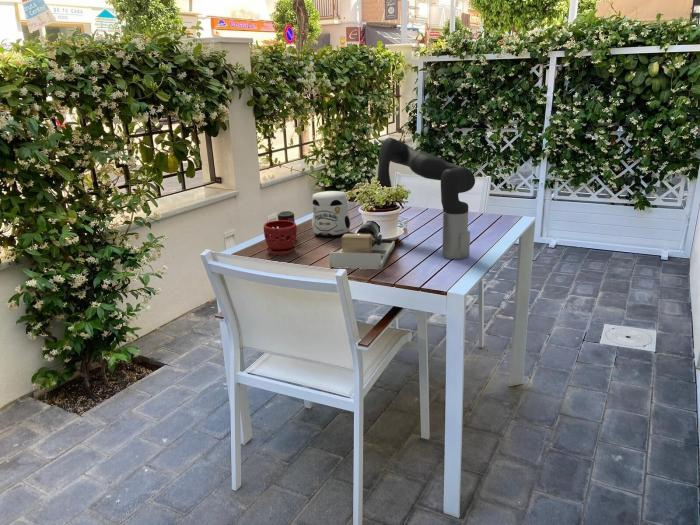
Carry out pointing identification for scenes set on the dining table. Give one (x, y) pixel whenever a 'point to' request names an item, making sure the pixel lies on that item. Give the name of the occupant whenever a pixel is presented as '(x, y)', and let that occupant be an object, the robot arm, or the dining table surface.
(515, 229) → the dining table surface
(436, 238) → the dining table surface
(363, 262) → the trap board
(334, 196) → the milk container
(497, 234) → the dining table surface
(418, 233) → the dining table surface
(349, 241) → the oak block
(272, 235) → the plant pot
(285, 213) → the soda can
